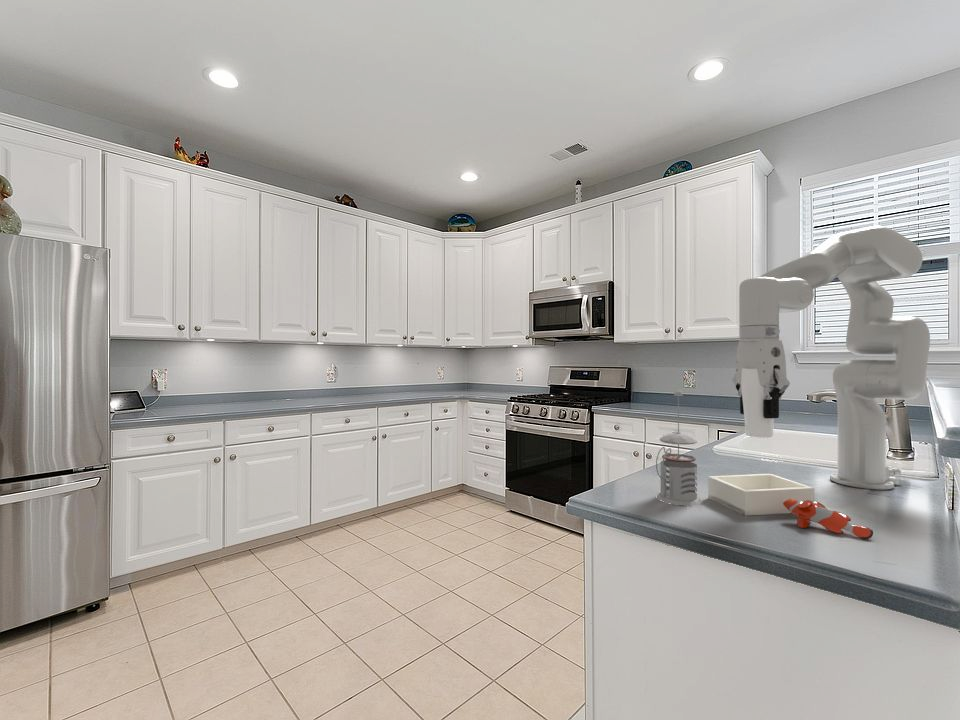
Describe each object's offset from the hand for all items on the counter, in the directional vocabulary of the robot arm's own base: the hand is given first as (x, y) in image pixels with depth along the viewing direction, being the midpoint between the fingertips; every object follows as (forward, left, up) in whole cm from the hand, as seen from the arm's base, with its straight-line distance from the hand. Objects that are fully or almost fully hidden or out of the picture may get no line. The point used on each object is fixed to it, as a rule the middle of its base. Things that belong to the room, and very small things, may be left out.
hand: (758, 415), depth 101 cm
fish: (-1, +14, -21) cm, 25 cm away
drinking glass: (0, 0, -5) cm, 5 cm away
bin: (0, 0, -20) cm, 20 cm away
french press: (+16, -6, -20) cm, 26 cm away
